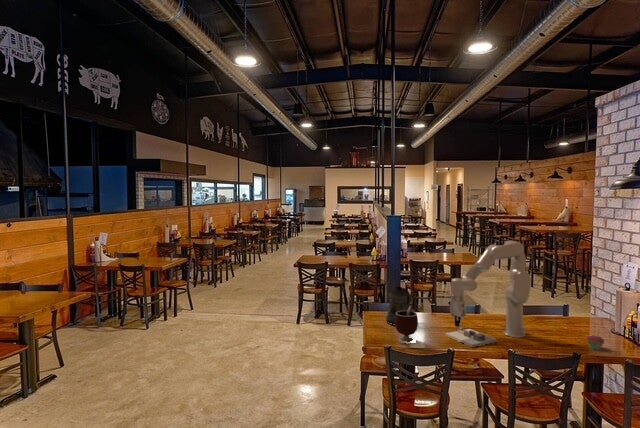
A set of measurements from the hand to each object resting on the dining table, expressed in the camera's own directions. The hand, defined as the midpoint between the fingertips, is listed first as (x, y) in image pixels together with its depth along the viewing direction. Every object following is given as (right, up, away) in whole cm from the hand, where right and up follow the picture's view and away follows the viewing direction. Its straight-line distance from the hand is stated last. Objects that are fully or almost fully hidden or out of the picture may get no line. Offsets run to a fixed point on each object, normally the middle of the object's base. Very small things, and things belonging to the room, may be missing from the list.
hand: (457, 325), depth 259 cm
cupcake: (+70, -5, -28) cm, 75 cm away
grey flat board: (+5, -6, -10) cm, 12 cm away
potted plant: (-33, -5, +27) cm, 43 cm away
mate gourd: (-35, -6, -10) cm, 37 cm away
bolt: (+2, -3, -5) cm, 6 cm away
